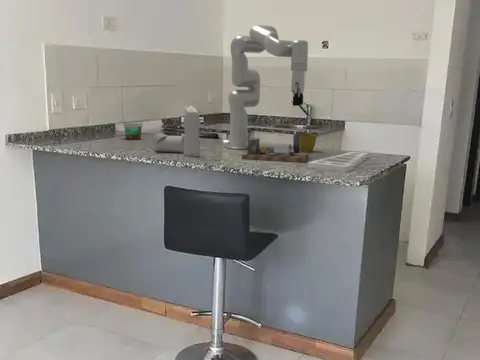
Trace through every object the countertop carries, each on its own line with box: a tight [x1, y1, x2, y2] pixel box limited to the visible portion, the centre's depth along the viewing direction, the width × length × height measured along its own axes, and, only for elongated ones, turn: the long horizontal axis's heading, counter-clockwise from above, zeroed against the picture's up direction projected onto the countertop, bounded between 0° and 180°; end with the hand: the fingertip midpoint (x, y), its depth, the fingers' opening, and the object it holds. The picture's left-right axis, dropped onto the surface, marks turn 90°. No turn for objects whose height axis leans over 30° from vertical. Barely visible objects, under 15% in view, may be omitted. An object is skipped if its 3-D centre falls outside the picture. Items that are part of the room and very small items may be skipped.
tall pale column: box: [183, 110, 201, 158], centre depth 264 cm, size 11×4×22 cm, turn 54°
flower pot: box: [299, 133, 318, 153], centre depth 287 cm, size 9×9×9 cm
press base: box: [241, 137, 309, 163], centre depth 260 cm, size 30×14×9 cm, turn 75°
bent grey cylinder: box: [152, 133, 185, 154], centre depth 281 cm, size 18×10×20 cm
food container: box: [122, 122, 143, 141], centre depth 326 cm, size 12×6×10 cm, turn 73°
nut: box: [258, 144, 268, 154], centre depth 262 cm, size 4×4×4 cm
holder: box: [307, 151, 369, 173], centre depth 250 cm, size 45×18×3 cm, turn 143°
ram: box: [273, 131, 301, 154], centre depth 258 cm, size 12×8×10 cm, turn 75°
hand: (297, 105), depth 253 cm, fingers open, 9 cm apart
